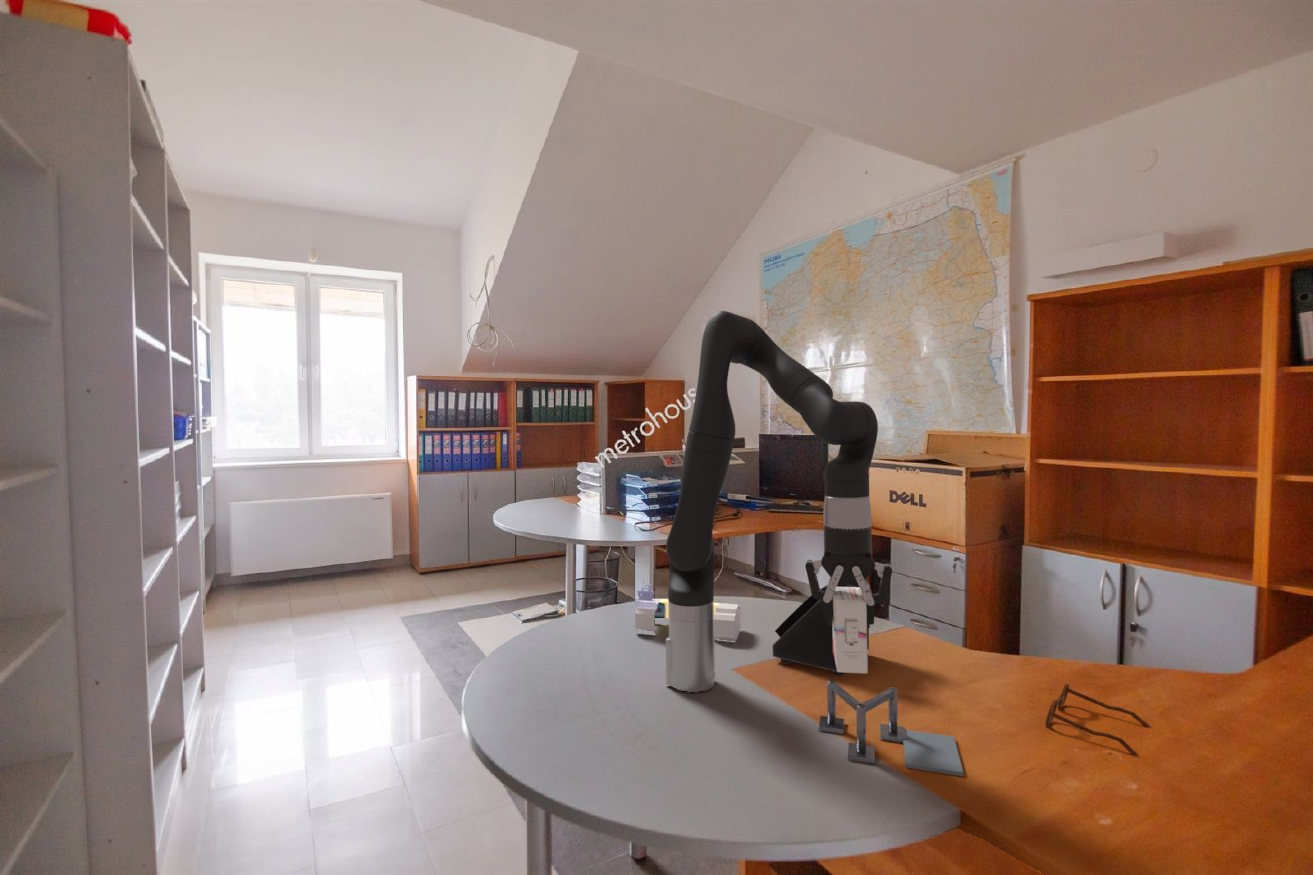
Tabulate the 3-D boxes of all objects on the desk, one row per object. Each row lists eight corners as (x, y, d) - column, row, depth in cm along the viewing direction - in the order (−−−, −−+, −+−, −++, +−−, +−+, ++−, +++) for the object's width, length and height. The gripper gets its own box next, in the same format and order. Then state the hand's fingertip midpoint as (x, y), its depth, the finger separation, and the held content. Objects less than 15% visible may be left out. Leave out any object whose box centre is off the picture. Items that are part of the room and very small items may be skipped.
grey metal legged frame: (815, 755, 99) (814, 705, 99) (820, 720, 110) (820, 675, 110) (909, 769, 94) (909, 718, 94) (905, 731, 106) (905, 685, 106)
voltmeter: (800, 640, 150) (799, 558, 149) (868, 655, 140) (868, 567, 140) (771, 662, 137) (770, 572, 136) (844, 680, 127) (844, 583, 126)
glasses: (1062, 705, 115) (1062, 679, 115) (1151, 730, 106) (1151, 701, 106) (1043, 731, 106) (1043, 703, 106) (1139, 761, 97) (1139, 729, 97)
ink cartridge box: (831, 652, 107) (830, 568, 107) (861, 654, 106) (860, 569, 106) (835, 673, 99) (834, 581, 98) (868, 674, 98) (867, 582, 97)
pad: (905, 767, 95) (905, 763, 95) (902, 732, 106) (902, 729, 105) (963, 776, 93) (963, 772, 92) (953, 739, 103) (953, 736, 103)
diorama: (635, 636, 155) (634, 585, 155) (647, 623, 165) (646, 574, 164) (734, 645, 148) (733, 591, 147) (741, 631, 158) (740, 580, 157)
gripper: (800, 525, 100) (802, 629, 101) (895, 528, 96) (896, 636, 96) (804, 518, 108) (806, 614, 108) (892, 520, 103) (894, 621, 104)
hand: (848, 624), depth 102 cm, fingers closed on ink cartridge box, 5 cm apart
